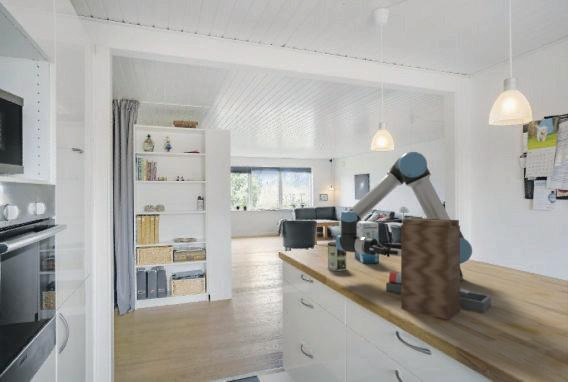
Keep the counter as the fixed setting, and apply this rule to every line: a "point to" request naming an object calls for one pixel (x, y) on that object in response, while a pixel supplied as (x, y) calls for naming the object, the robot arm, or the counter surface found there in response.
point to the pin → (396, 278)
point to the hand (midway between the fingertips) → (413, 251)
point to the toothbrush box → (367, 231)
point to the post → (430, 266)
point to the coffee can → (336, 258)
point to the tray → (474, 303)
